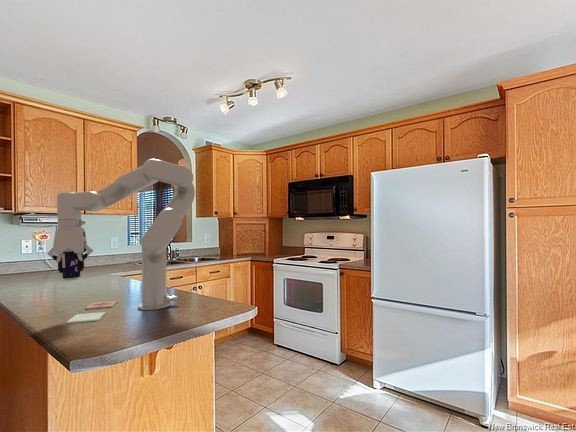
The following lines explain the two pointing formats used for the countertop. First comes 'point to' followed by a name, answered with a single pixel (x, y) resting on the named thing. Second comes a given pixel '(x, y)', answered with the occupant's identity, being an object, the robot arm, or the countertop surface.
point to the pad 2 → (101, 305)
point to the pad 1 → (86, 317)
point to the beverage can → (70, 265)
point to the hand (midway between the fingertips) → (71, 271)
